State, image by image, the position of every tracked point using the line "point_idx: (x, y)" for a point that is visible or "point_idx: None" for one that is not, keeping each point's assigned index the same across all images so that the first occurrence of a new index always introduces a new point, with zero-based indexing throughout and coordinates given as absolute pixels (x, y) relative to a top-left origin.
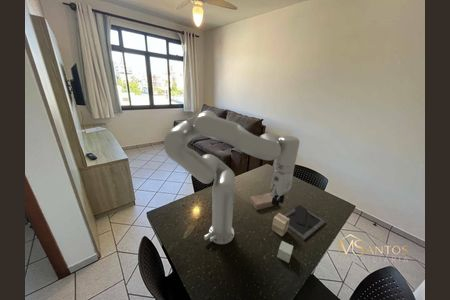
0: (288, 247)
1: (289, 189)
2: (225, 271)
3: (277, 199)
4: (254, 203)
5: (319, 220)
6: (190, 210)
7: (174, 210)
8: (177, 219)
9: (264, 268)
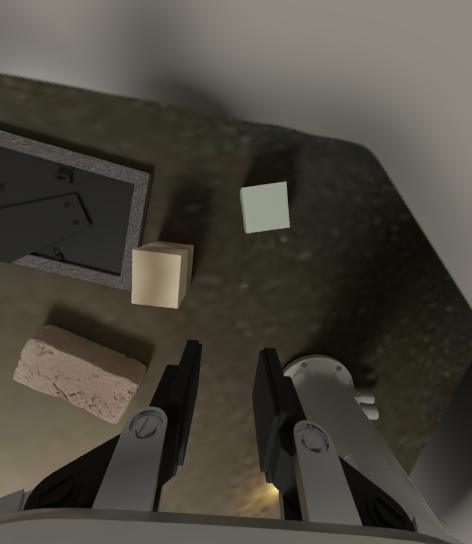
0: (260, 201)
1: (48, 521)
2: (403, 313)
3: (328, 438)
4: (135, 392)
5: None
6: None
7: None
8: None
9: (338, 239)
